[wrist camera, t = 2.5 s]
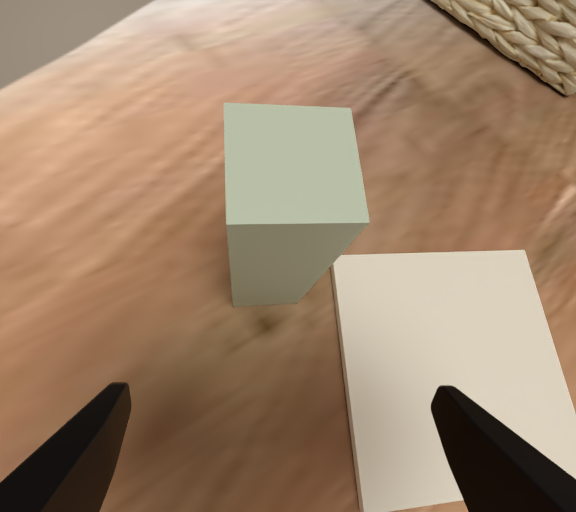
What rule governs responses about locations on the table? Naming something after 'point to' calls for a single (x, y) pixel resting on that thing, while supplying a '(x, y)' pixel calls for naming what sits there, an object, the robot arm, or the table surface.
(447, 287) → the tile
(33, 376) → the table surface
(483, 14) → the storage basket
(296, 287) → the block
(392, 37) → the table surface
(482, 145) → the table surface
